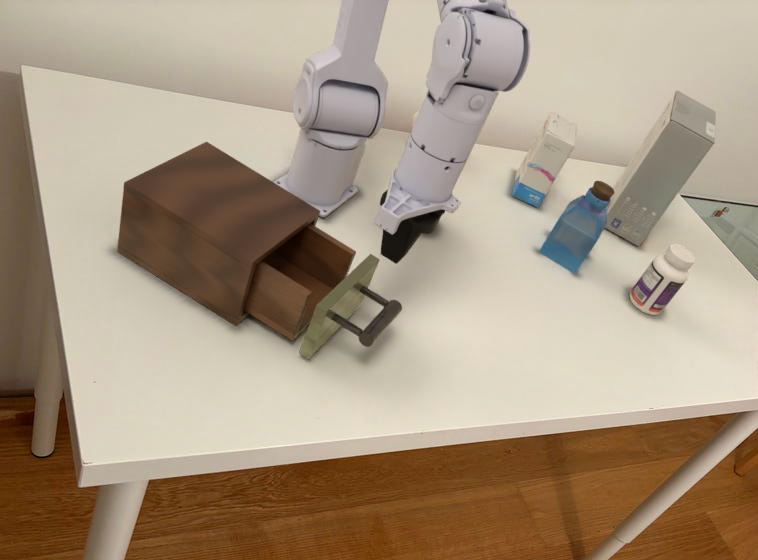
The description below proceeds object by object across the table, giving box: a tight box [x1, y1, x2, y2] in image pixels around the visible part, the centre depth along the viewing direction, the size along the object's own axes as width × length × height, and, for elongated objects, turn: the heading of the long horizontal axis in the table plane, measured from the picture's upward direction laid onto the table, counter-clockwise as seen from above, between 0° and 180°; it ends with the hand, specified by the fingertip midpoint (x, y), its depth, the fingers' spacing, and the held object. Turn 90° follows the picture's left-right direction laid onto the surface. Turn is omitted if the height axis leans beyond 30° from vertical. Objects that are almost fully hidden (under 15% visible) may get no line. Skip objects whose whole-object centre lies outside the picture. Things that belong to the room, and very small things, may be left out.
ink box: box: [511, 111, 578, 209], centre depth 113 cm, size 9×5×12 cm, turn 168°
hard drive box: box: [604, 90, 717, 247], centre depth 117 cm, size 16×8×20 cm, turn 160°
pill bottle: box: [629, 243, 696, 316], centre depth 103 cm, size 5×5×10 cm
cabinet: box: [116, 141, 320, 327], centre depth 75 cm, size 15×13×9 cm
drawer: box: [244, 224, 403, 360], centre depth 75 cm, size 18×11×7 cm, turn 66°
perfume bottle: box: [538, 180, 615, 275], centre depth 103 cm, size 6×6×12 cm
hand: (391, 256), depth 75 cm, fingers closed
